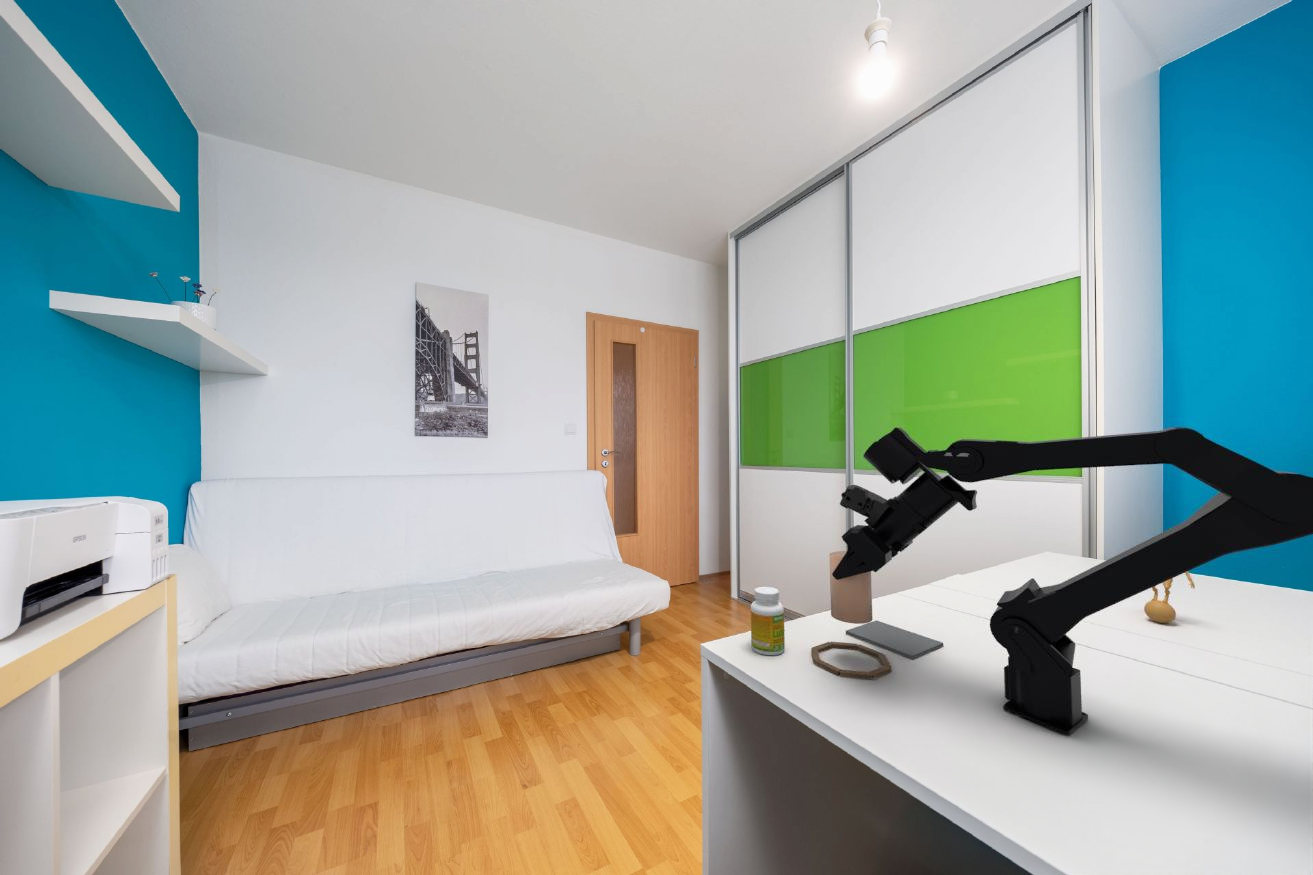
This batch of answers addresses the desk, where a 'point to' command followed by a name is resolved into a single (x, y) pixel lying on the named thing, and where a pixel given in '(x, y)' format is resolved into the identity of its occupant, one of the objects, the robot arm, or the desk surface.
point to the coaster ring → (850, 673)
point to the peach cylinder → (850, 594)
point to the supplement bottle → (767, 622)
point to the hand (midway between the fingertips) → (841, 572)
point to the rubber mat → (895, 639)
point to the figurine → (1163, 604)
